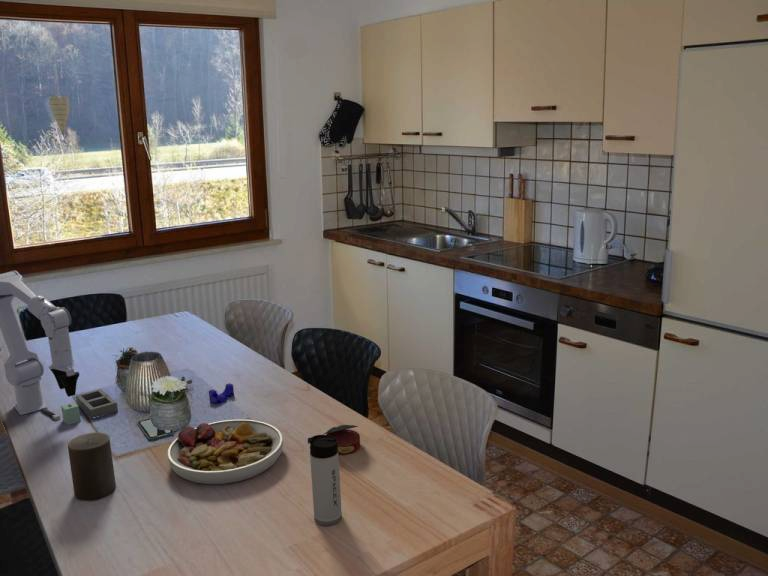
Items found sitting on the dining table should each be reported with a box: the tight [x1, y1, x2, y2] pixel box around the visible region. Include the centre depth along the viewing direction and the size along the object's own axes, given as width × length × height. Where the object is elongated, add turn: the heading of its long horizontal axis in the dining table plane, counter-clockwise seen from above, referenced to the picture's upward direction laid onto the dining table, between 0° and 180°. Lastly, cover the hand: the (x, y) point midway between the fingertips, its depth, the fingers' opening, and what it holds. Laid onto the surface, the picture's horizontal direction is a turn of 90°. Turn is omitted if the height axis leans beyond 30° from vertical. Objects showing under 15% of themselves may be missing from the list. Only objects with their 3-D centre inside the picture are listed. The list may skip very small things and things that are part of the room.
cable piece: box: [40, 408, 61, 421], centre depth 224 cm, size 10×1×1 cm, turn 49°
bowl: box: [166, 419, 284, 485], centre depth 192 cm, size 30×30×8 cm
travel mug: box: [307, 434, 343, 527], centre depth 162 cm, size 6×7×20 cm
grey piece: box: [75, 388, 119, 419], centre depth 228 cm, size 15×8×3 cm, turn 39°
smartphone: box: [137, 417, 175, 442], centre depth 213 cm, size 7×1×15 cm
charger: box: [60, 401, 82, 426], centre depth 219 cm, size 4×4×5 cm
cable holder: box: [208, 383, 235, 406], centre depth 232 cm, size 8×4×4 cm, turn 138°
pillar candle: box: [67, 432, 117, 502], centre depth 178 cm, size 10×10×15 cm
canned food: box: [323, 424, 361, 456], centre depth 197 cm, size 11×10×10 cm
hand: (67, 391), depth 218 cm, fingers open, 7 cm apart
